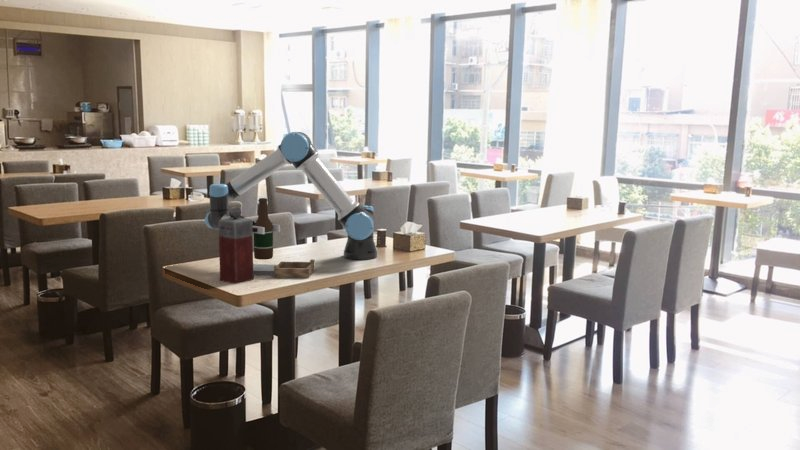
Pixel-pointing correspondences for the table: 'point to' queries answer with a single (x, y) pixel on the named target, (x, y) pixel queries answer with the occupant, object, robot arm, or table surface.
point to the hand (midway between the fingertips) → (271, 229)
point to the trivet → (263, 269)
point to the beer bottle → (263, 241)
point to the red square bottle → (235, 248)
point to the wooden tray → (294, 269)
